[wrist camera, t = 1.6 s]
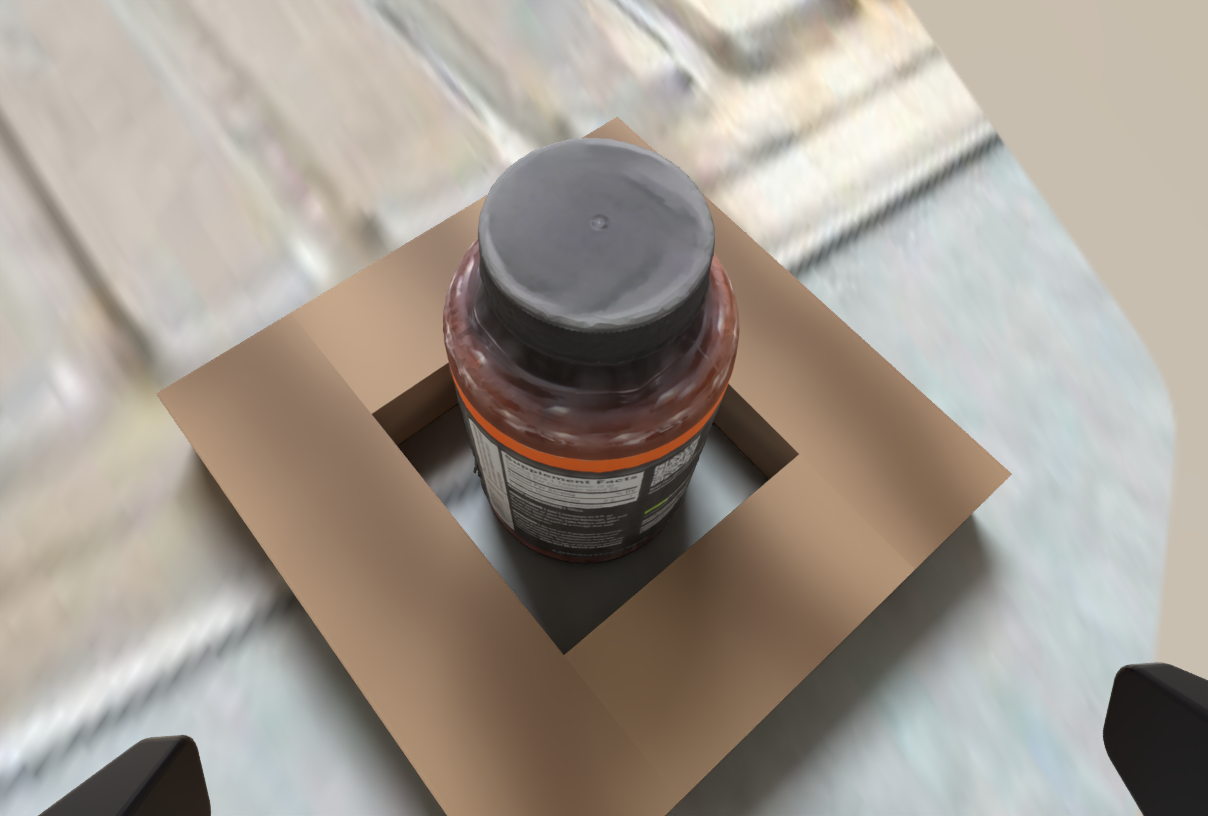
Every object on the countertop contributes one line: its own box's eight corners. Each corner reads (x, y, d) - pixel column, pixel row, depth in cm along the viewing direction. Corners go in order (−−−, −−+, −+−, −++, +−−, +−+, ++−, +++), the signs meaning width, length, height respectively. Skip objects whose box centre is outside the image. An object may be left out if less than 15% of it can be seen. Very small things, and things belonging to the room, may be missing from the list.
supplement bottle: (531, 352, 25) (510, 49, 15) (711, 419, 24) (819, 149, 14) (444, 523, 23) (350, 298, 12) (643, 603, 22) (715, 434, 12)
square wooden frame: (538, 926, 19) (535, 943, 16) (194, 432, 23) (156, 393, 21) (968, 505, 24) (1012, 473, 21) (612, 170, 28) (617, 116, 26)
